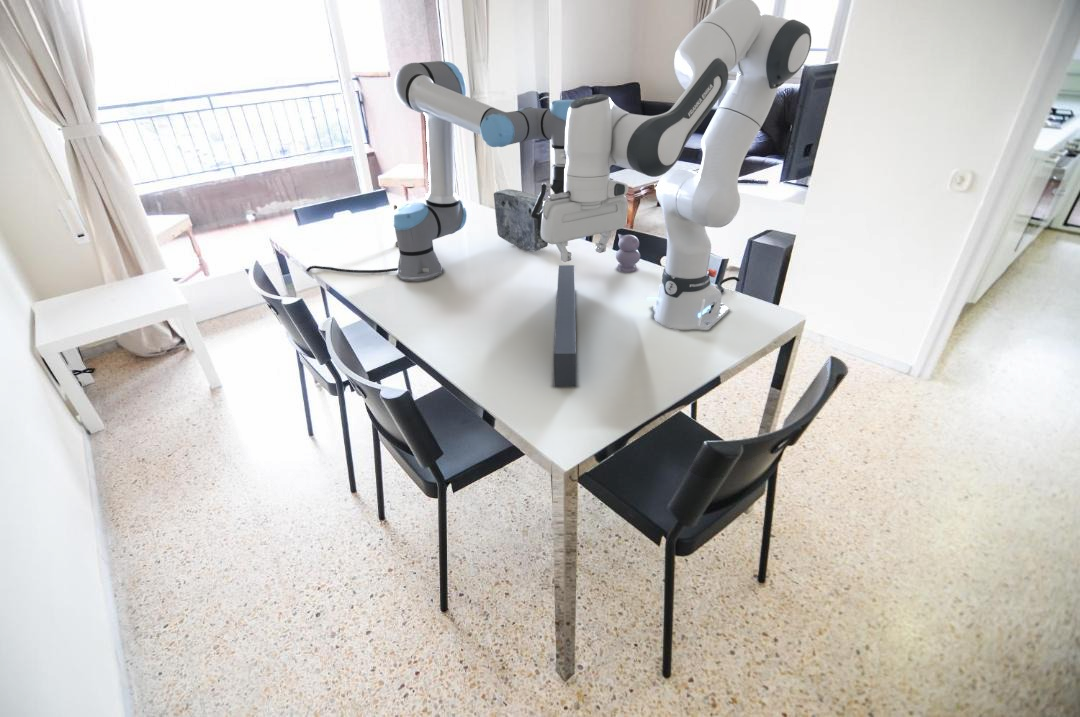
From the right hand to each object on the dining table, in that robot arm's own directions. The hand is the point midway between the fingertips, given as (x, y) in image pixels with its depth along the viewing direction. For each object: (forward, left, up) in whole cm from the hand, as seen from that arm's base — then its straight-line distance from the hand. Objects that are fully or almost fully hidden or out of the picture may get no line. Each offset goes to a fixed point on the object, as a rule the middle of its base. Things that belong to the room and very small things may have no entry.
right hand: (583, 256), depth 105 cm
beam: (-10, -17, -28) cm, 35 cm away
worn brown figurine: (-13, -118, -28) cm, 122 cm away
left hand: (-25, -34, -10) cm, 43 cm away
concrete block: (-44, -80, -28) cm, 96 cm away
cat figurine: (-56, -36, -28) cm, 72 cm away
